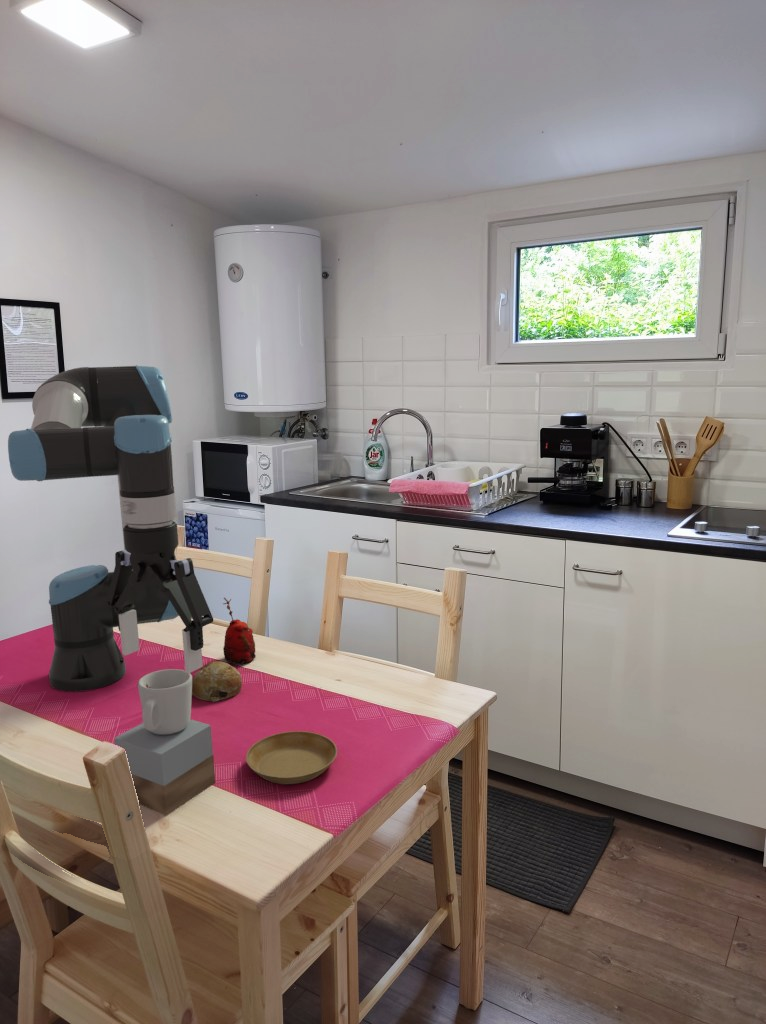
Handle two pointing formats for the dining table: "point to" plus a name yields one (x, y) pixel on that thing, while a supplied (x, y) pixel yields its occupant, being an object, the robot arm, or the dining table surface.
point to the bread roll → (216, 682)
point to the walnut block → (175, 788)
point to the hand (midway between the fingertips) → (161, 660)
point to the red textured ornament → (238, 641)
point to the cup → (166, 700)
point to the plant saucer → (291, 756)
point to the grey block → (166, 751)
